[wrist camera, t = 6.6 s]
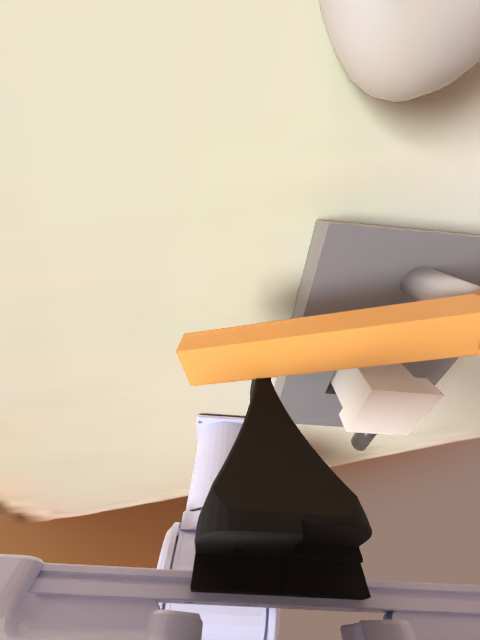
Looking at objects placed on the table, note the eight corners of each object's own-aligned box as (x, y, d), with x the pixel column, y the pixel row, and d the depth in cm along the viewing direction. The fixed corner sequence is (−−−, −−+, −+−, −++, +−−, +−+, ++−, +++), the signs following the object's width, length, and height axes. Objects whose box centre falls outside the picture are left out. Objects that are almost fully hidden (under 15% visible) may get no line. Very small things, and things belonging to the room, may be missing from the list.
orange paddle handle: (198, 370, 12) (192, 390, 11) (182, 329, 11) (173, 346, 9) (503, 333, 10) (539, 352, 9) (536, 279, 9) (585, 292, 8)
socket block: (383, 410, 25) (426, 475, 19) (270, 402, 24) (279, 466, 19) (508, 237, 15) (684, 263, 9) (316, 219, 14) (366, 233, 8)
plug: (354, 396, 24) (387, 456, 18) (311, 393, 24) (332, 453, 18) (386, 338, 19) (443, 395, 14) (335, 334, 19) (372, 389, 14)
